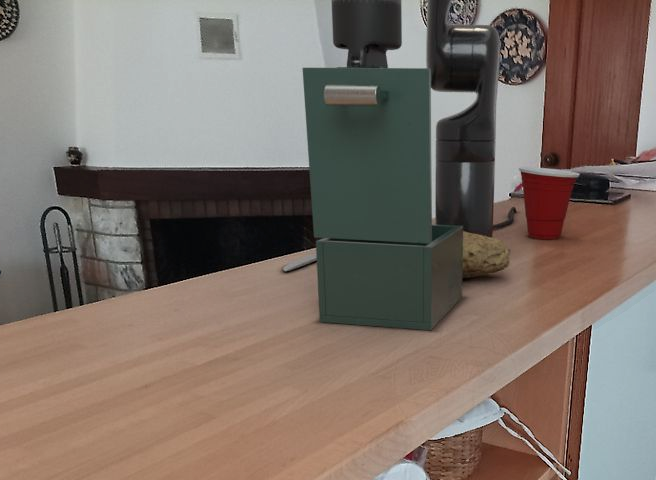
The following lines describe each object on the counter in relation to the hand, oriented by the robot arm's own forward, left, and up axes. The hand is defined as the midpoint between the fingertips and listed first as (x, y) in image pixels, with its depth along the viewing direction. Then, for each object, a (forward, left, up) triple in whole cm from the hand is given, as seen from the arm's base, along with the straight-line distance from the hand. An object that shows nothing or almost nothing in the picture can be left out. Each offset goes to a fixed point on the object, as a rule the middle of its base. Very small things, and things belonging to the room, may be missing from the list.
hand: (370, 164), depth 90 cm
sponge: (-15, +4, -16) cm, 22 cm away
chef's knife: (-20, -17, -16) cm, 31 cm away
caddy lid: (+12, +4, +2) cm, 13 cm away
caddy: (+4, +4, -16) cm, 17 cm away
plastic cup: (-54, +15, -16) cm, 58 cm away
